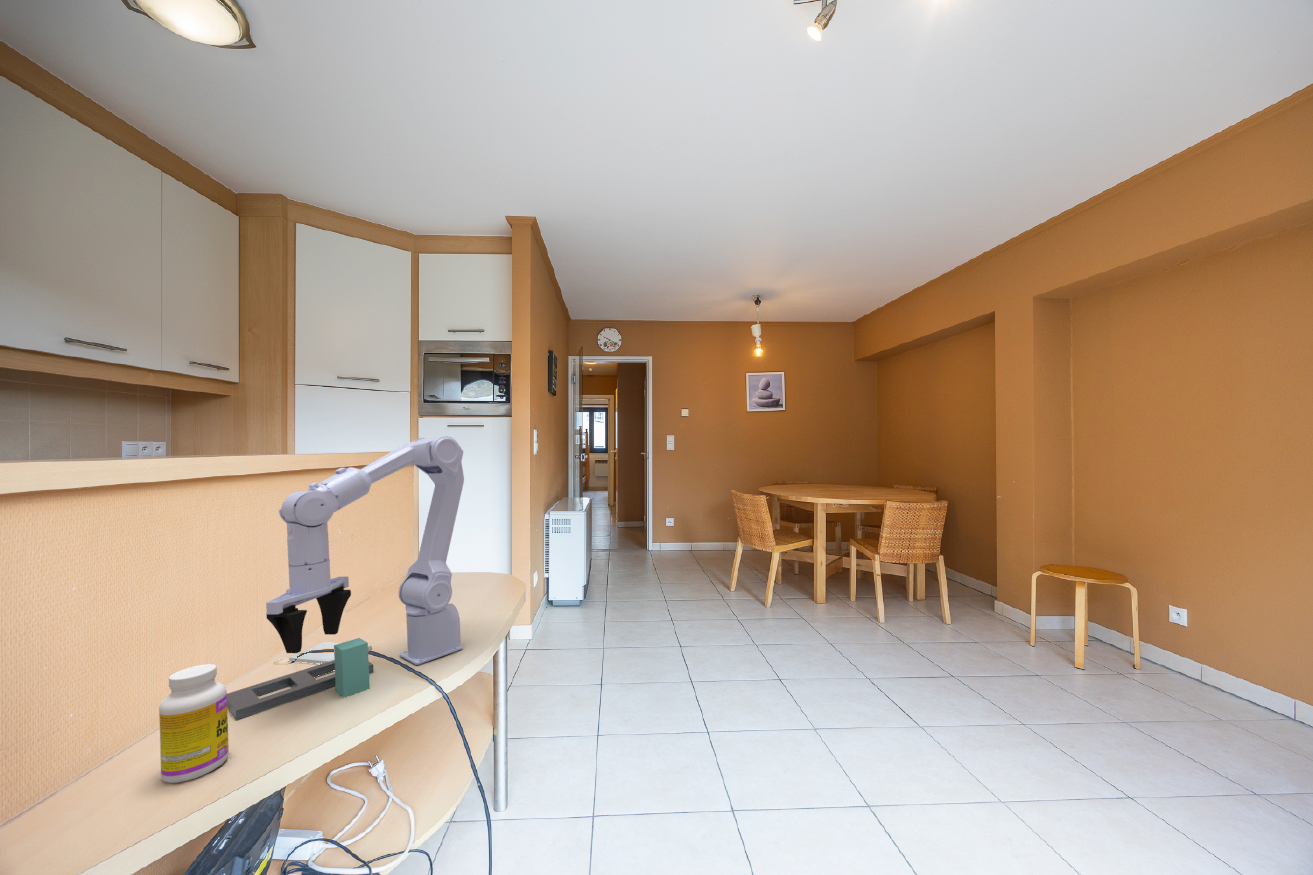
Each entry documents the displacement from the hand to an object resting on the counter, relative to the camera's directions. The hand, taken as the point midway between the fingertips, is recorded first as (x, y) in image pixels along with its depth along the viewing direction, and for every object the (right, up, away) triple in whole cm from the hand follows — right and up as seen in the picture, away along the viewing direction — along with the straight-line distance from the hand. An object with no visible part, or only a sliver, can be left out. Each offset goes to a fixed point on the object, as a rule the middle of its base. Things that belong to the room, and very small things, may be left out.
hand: (313, 642), depth 84 cm
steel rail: (-5, -10, +5) cm, 12 cm away
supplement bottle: (-3, -10, -18) cm, 21 cm away
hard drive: (-9, -11, +19) cm, 23 cm away
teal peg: (+5, -9, +3) cm, 11 cm away
